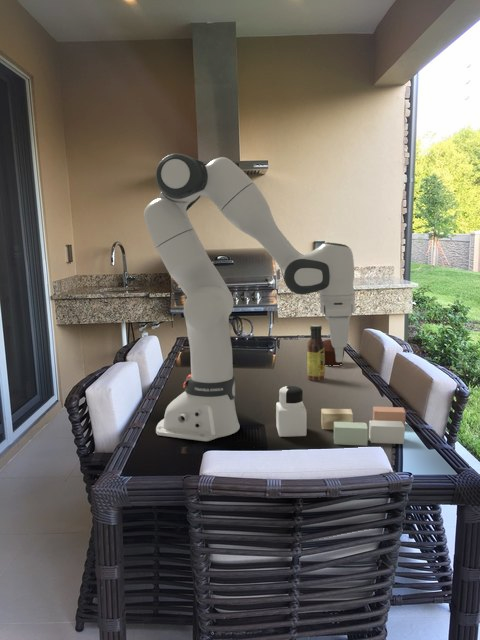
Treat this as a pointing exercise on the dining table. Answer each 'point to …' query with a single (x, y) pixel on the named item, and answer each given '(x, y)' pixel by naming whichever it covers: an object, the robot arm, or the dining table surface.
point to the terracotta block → (389, 414)
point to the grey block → (386, 432)
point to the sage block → (350, 433)
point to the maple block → (335, 417)
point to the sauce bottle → (316, 355)
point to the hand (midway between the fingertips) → (338, 357)
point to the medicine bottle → (291, 412)
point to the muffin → (331, 353)
